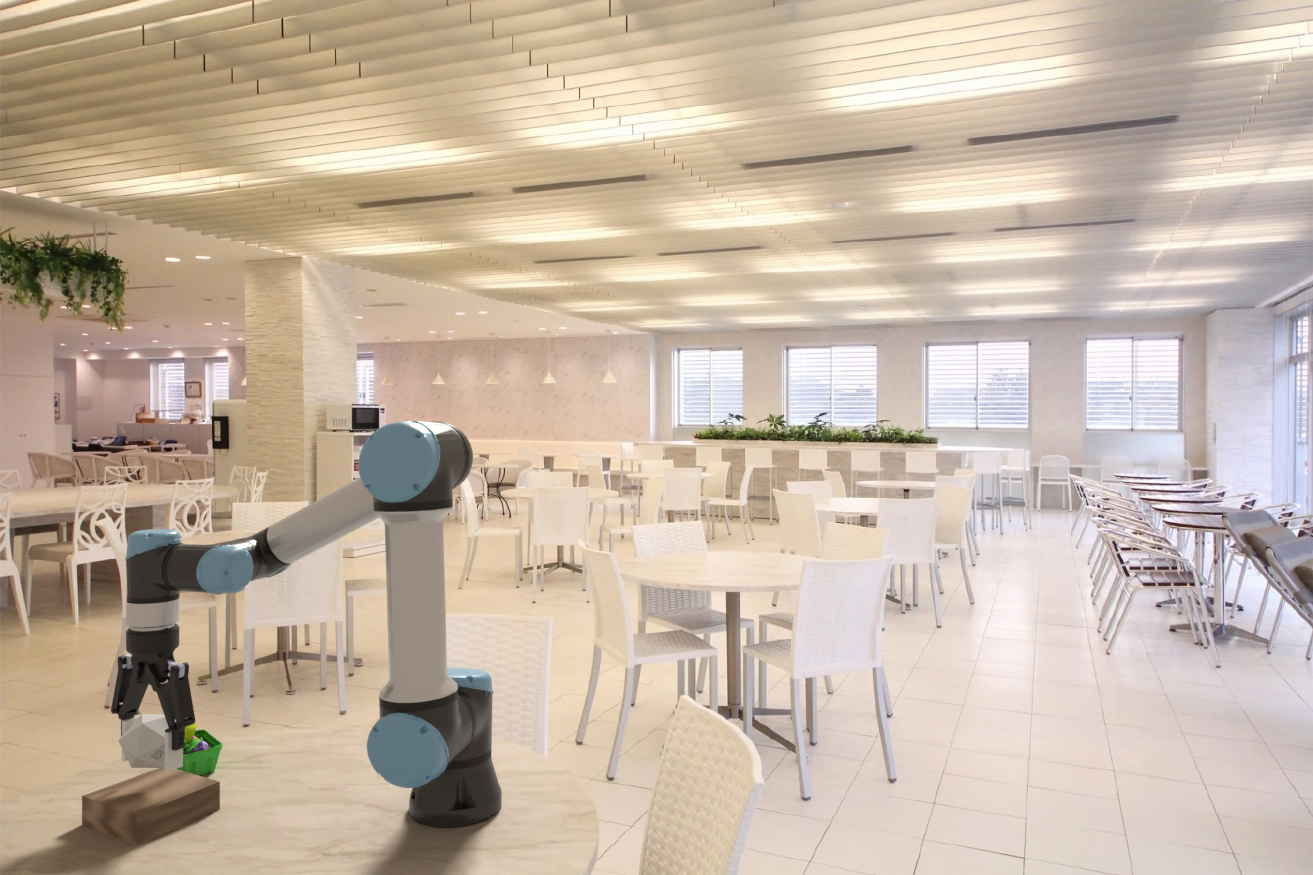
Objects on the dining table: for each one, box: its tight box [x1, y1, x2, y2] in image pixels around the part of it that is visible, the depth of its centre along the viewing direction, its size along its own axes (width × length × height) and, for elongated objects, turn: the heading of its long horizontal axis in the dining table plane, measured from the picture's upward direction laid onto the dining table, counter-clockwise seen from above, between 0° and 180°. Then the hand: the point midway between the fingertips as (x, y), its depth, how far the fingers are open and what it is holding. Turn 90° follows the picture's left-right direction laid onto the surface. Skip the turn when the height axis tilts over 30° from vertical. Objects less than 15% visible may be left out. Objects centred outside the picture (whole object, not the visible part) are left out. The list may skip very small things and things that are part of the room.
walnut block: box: [81, 768, 221, 846], centre depth 143 cm, size 14×14×5 cm
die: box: [118, 713, 185, 769], centre depth 143 cm, size 8×9×10 cm
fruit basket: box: [175, 719, 224, 776], centre depth 163 cm, size 11×9×11 cm
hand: (152, 763), depth 143 cm, fingers closed on die, 9 cm apart
